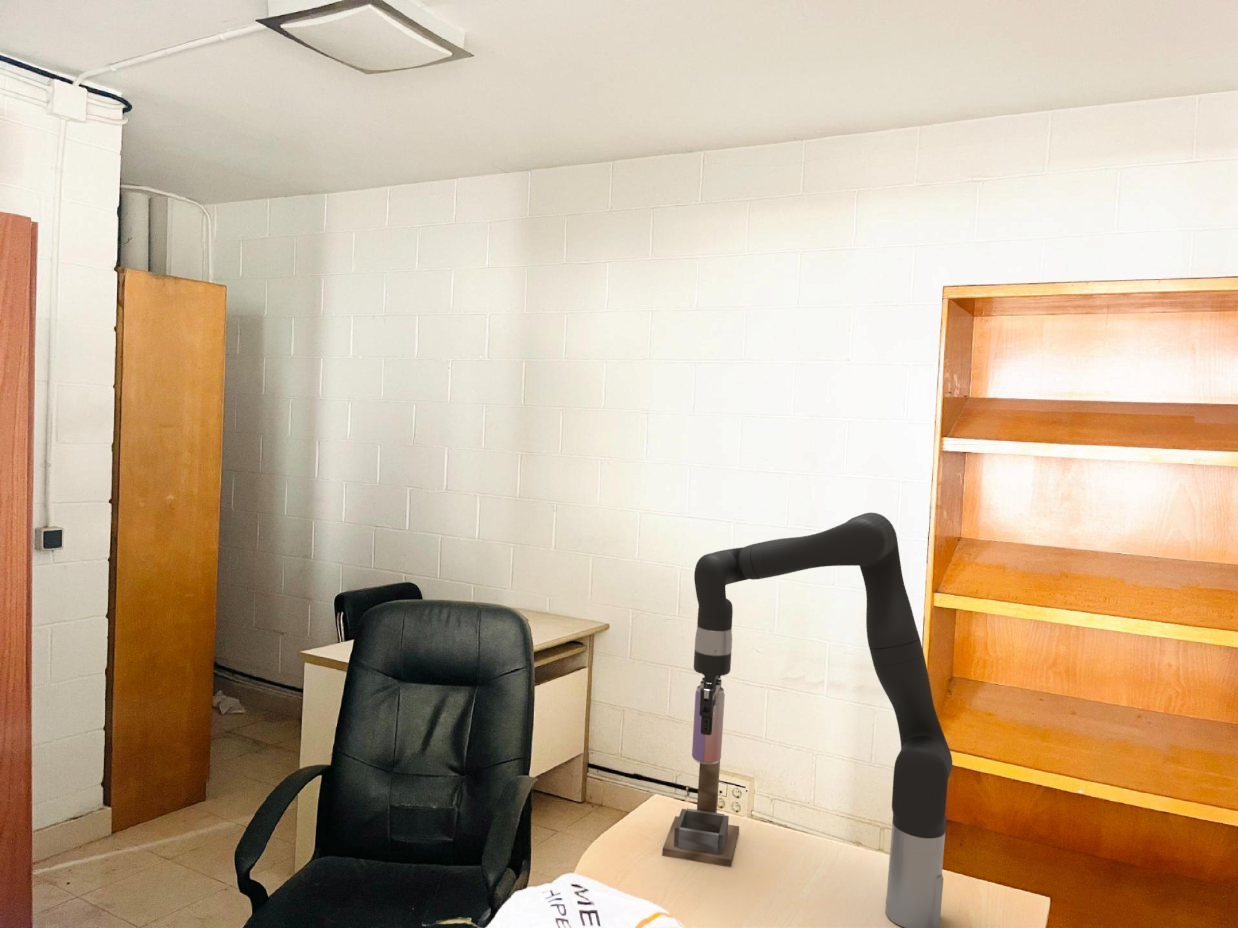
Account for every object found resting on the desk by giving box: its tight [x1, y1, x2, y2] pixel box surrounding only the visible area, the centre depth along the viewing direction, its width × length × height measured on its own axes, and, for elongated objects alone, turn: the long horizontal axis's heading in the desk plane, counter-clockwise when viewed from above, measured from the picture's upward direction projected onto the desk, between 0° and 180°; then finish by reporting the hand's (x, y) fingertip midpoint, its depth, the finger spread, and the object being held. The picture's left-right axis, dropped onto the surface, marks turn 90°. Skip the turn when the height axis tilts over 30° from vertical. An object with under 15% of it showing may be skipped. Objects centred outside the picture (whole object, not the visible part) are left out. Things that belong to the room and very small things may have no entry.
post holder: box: [661, 759, 740, 868], centre depth 191 cm, size 14×15×18 cm
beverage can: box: [691, 684, 726, 765], centre depth 188 cm, size 6×6×15 cm
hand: (708, 728), depth 188 cm, fingers closed on beverage can, 6 cm apart
